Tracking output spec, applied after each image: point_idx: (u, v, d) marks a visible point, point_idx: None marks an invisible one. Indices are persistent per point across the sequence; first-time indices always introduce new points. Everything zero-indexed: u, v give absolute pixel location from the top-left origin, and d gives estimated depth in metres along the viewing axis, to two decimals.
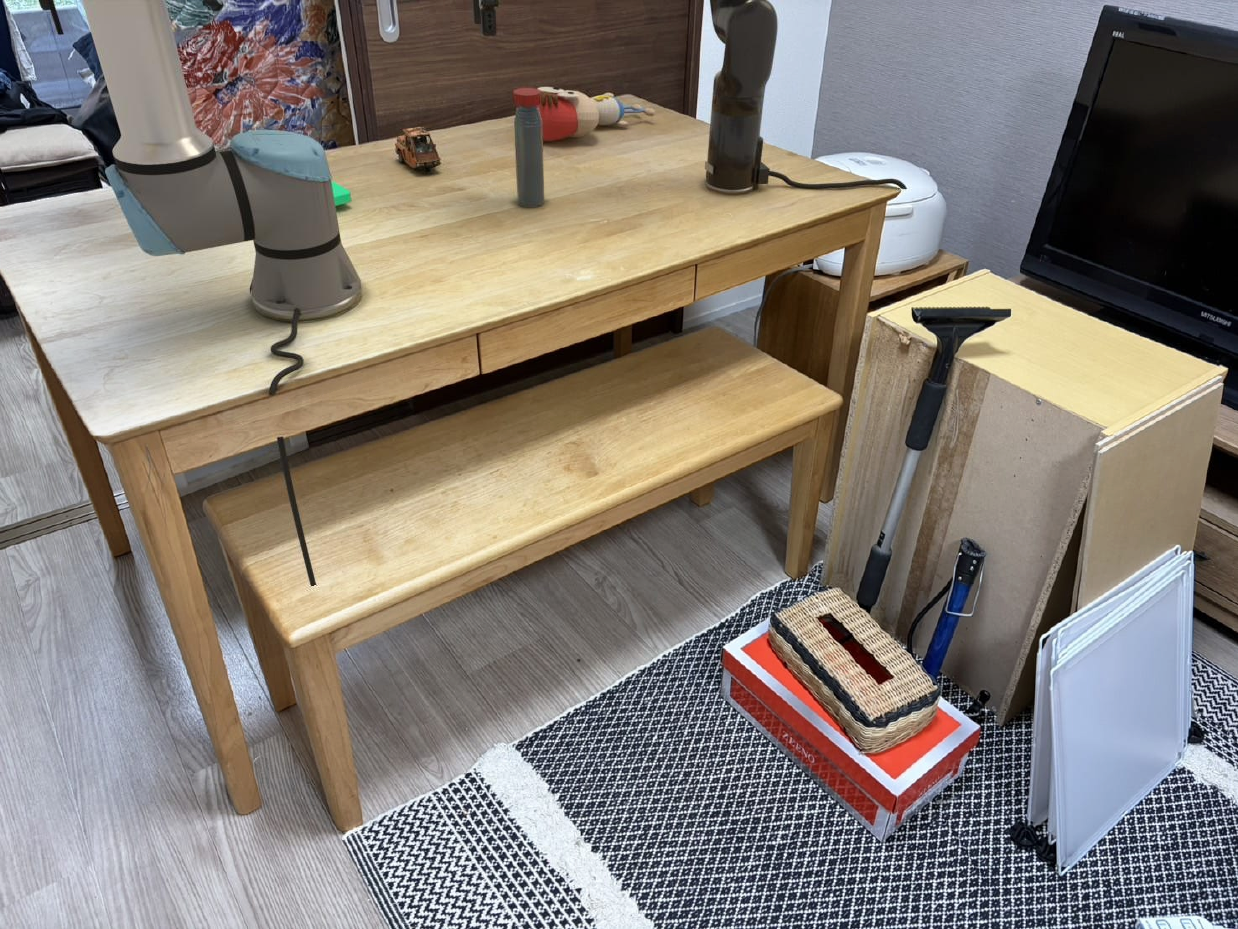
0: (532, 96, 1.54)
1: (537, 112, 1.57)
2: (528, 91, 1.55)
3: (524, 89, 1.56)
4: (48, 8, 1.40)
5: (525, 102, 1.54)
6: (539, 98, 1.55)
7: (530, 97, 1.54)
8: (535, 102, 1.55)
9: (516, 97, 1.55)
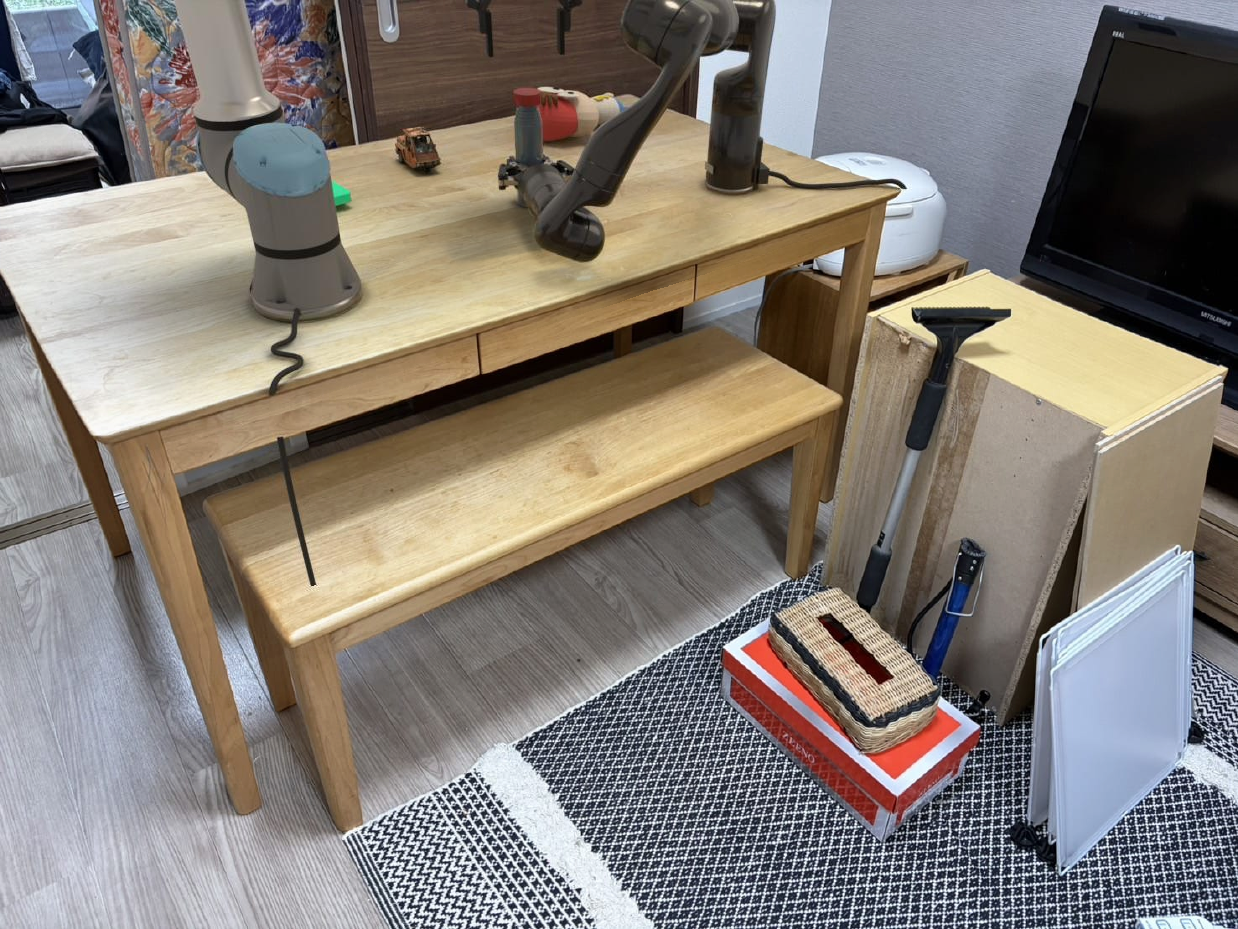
0: (532, 96, 1.54)
1: (537, 112, 1.57)
2: (528, 91, 1.55)
3: (524, 89, 1.56)
4: (485, 32, 1.48)
5: (525, 102, 1.54)
6: (539, 98, 1.55)
7: (530, 97, 1.54)
8: (535, 102, 1.55)
9: (516, 97, 1.55)
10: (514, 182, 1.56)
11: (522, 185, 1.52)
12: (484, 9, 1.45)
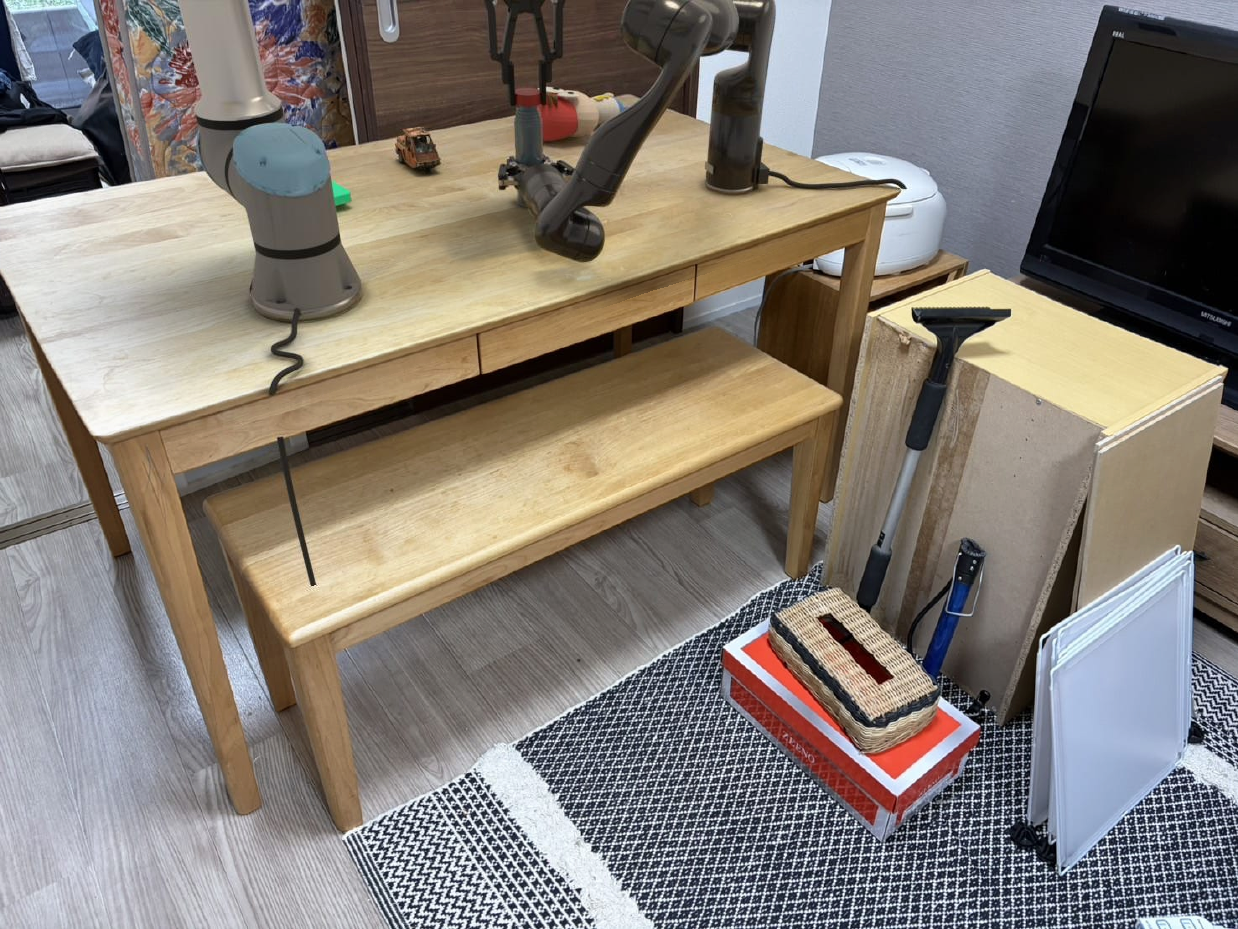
0: (532, 96, 1.54)
1: (537, 112, 1.57)
2: (528, 91, 1.55)
3: (524, 89, 1.56)
4: (508, 82, 1.53)
5: (525, 102, 1.54)
6: (539, 98, 1.55)
7: (530, 97, 1.54)
8: (535, 102, 1.55)
9: (516, 97, 1.55)
10: (514, 182, 1.56)
11: (522, 185, 1.52)
12: (507, 60, 1.51)
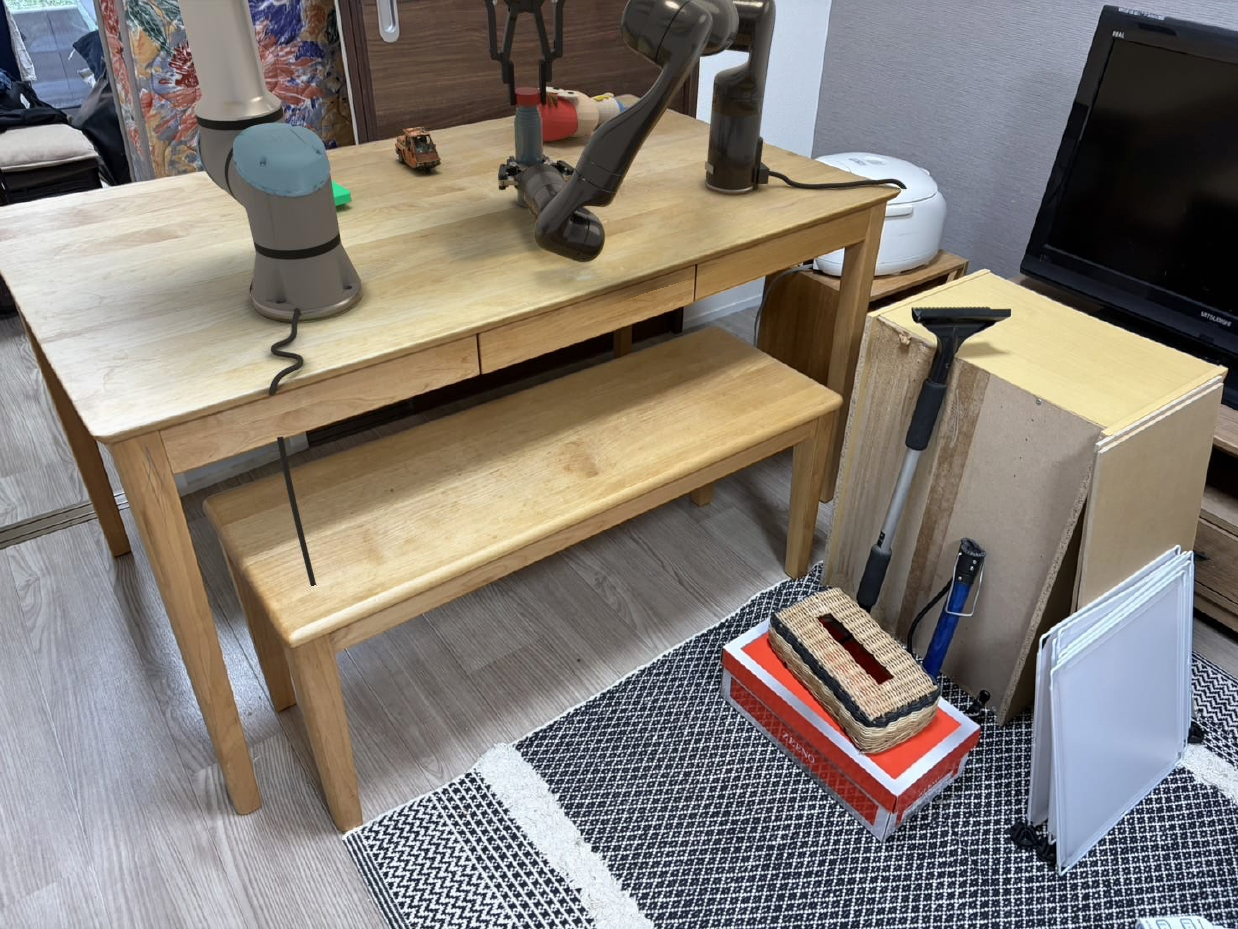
0: None
1: (537, 112, 1.57)
2: (526, 90, 1.55)
3: (520, 92, 1.55)
4: (508, 82, 1.53)
5: None
6: None
7: None
8: None
9: (537, 97, 1.55)
10: (514, 182, 1.56)
11: (522, 185, 1.52)
12: (507, 60, 1.50)
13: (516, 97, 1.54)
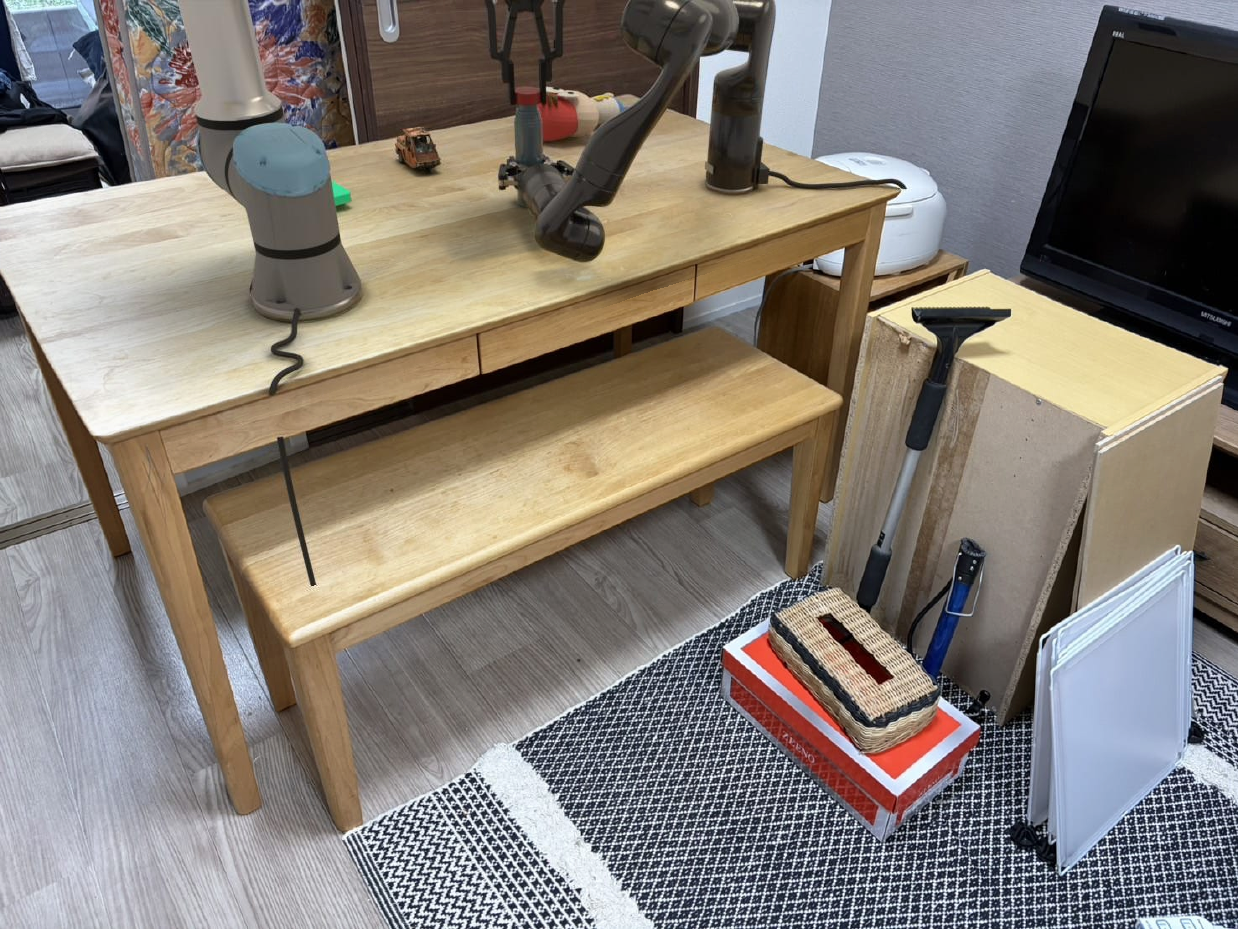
0: None
1: (537, 112, 1.57)
2: (526, 90, 1.55)
3: (532, 91, 1.55)
4: (508, 81, 1.53)
5: None
6: None
7: None
8: None
9: None
10: (514, 182, 1.56)
11: (522, 185, 1.52)
12: (507, 59, 1.50)
13: (538, 96, 1.55)
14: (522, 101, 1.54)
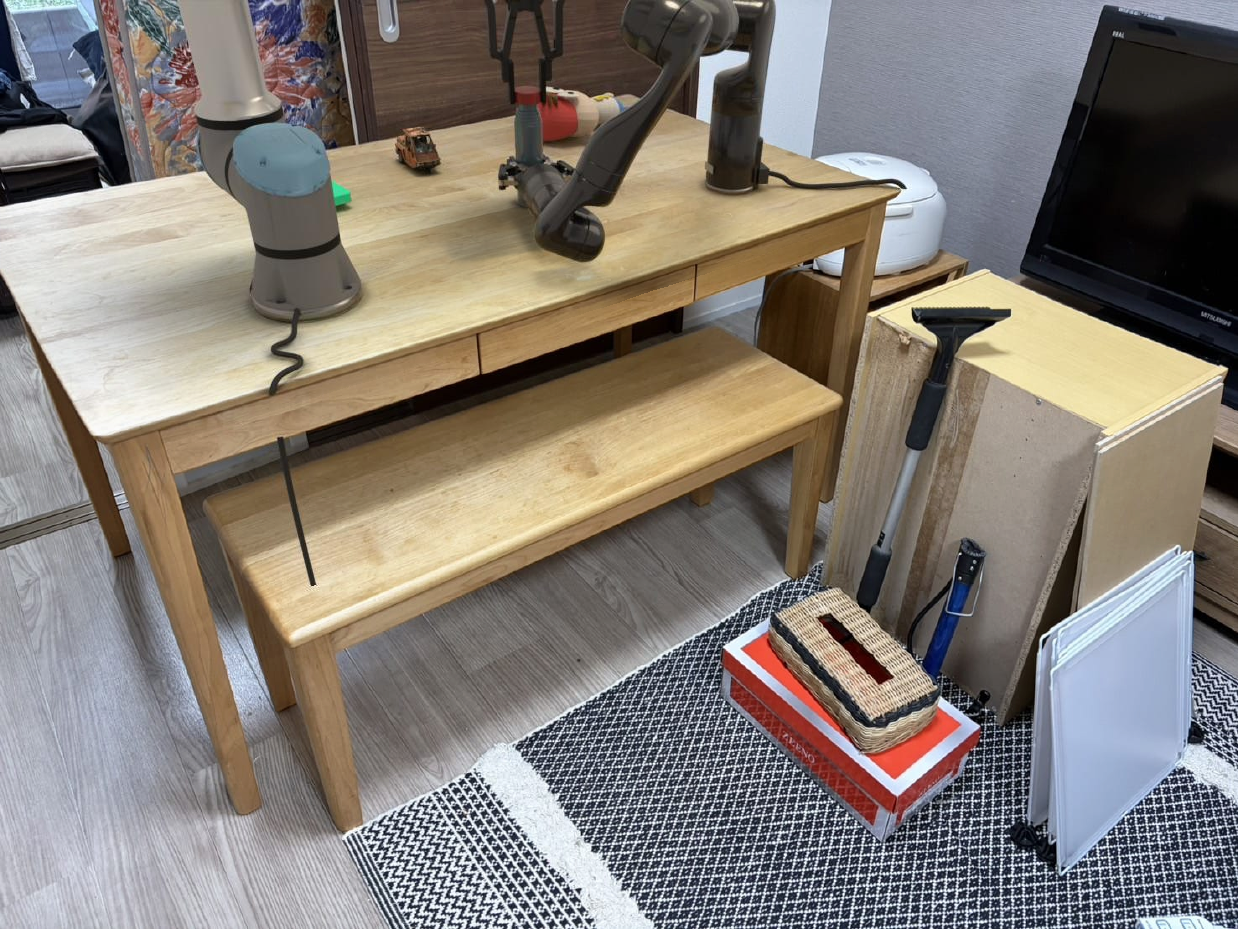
0: (521, 94, 1.54)
1: (537, 112, 1.57)
2: (528, 90, 1.55)
3: (531, 87, 1.56)
4: (508, 80, 1.53)
5: (515, 98, 1.55)
6: (529, 98, 1.54)
7: (518, 95, 1.54)
8: (523, 101, 1.54)
9: None
10: (514, 182, 1.56)
11: (522, 185, 1.52)
12: (507, 59, 1.50)
13: None
14: None
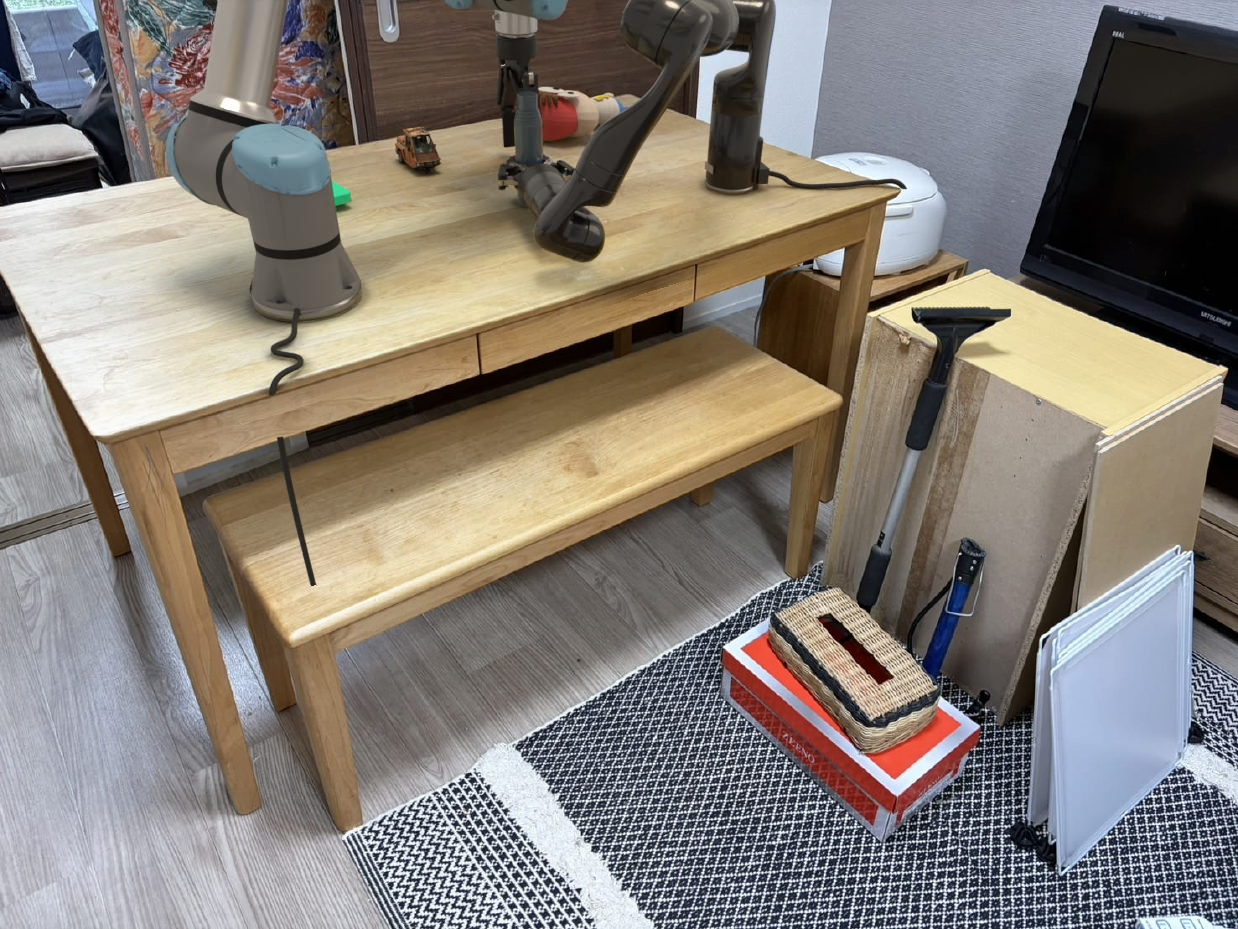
0: None
1: (537, 112, 1.57)
2: None
3: (515, 157, 1.80)
4: None
5: None
6: None
7: None
8: None
9: None
10: (514, 182, 1.56)
11: (522, 185, 1.52)
12: None
13: None
14: None
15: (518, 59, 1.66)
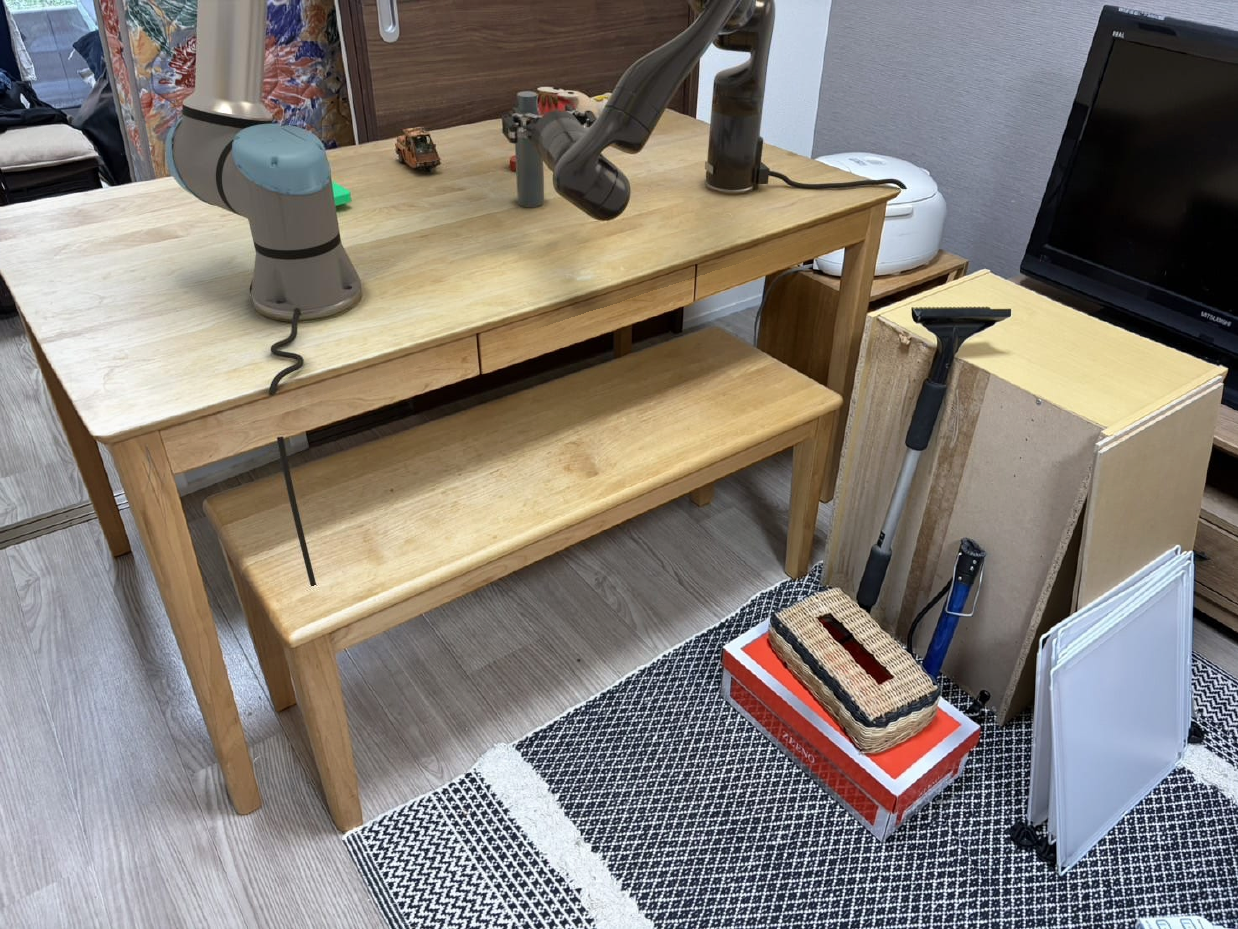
0: None
1: (537, 112, 1.57)
2: None
3: (515, 157, 1.80)
4: None
5: None
6: None
7: None
8: None
9: None
10: (528, 133, 1.38)
11: (536, 134, 1.35)
12: None
13: None
14: None
15: None
